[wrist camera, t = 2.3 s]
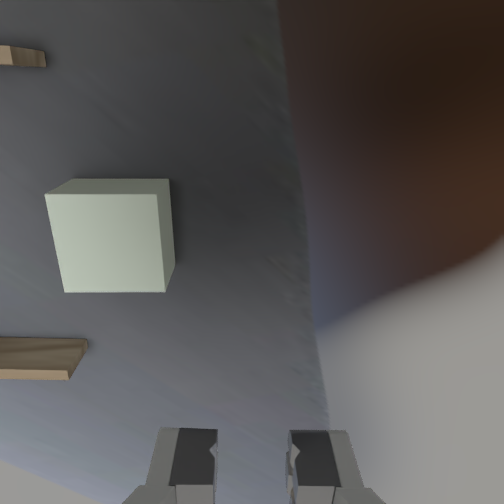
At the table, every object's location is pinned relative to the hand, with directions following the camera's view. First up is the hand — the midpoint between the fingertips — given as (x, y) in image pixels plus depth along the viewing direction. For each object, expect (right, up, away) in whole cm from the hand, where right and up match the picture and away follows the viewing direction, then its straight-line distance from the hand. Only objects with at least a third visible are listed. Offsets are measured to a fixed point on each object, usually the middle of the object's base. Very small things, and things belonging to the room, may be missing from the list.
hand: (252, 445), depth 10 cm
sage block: (-8, +7, +16) cm, 19 cm away
